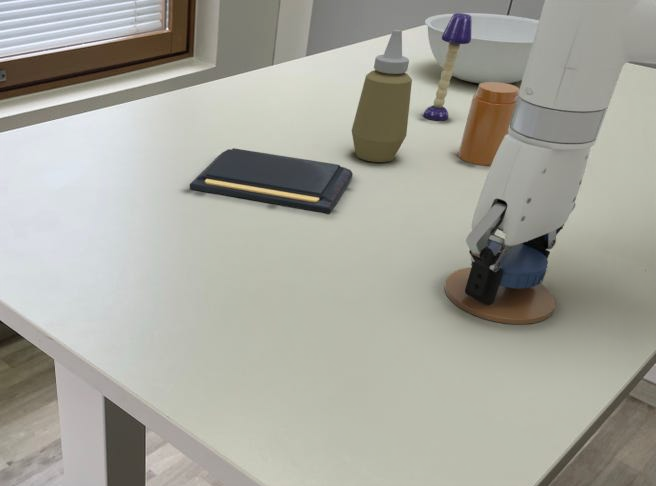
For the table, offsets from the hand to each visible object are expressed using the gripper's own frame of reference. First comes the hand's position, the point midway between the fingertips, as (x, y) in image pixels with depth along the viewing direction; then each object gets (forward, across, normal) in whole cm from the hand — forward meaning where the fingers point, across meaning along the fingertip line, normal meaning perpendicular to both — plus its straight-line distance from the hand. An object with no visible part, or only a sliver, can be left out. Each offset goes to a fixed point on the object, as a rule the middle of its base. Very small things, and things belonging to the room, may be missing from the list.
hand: (501, 287), depth 76 cm
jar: (+1, -34, -28) cm, 44 cm away
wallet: (+1, 0, -37) cm, 37 cm away
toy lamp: (+1, -44, -45) cm, 63 cm away
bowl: (+2, -73, -58) cm, 93 cm away
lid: (-3, 0, 0) cm, 3 cm away
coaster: (+1, 0, 0) cm, 1 cm away
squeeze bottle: (+1, -20, -37) cm, 42 cm away
